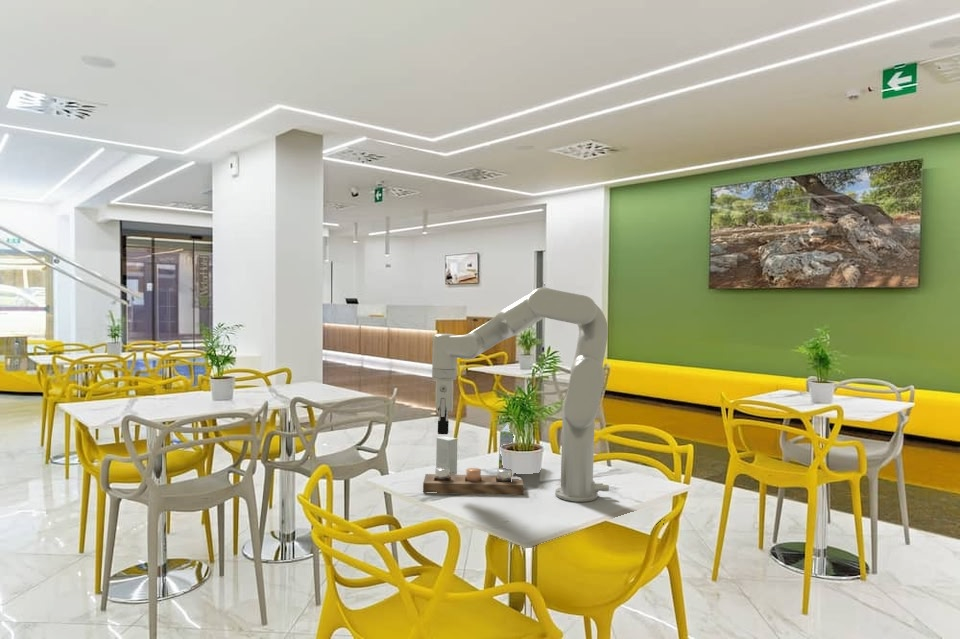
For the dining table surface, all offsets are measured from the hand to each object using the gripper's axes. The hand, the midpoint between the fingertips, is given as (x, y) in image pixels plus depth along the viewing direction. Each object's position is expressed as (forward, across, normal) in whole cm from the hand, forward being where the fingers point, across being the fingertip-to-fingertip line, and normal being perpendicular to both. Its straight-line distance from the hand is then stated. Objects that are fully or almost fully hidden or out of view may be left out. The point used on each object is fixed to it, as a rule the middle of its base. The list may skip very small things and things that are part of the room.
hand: (442, 433), depth 198 cm
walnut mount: (+17, 0, -10) cm, 19 cm away
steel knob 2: (+14, 0, -19) cm, 24 cm away
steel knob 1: (+14, 0, 0) cm, 14 cm away
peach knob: (+14, 0, -10) cm, 17 cm away
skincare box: (+17, +17, -1) cm, 24 cm away
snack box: (+17, +25, -23) cm, 38 cm away
